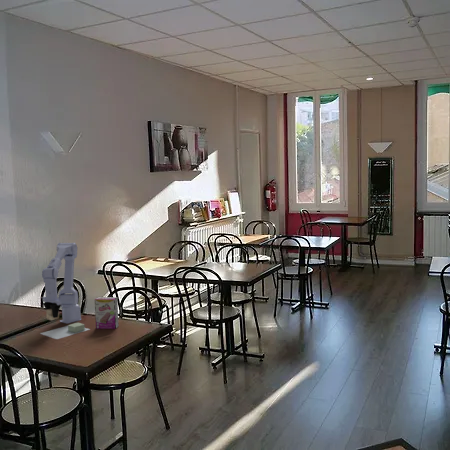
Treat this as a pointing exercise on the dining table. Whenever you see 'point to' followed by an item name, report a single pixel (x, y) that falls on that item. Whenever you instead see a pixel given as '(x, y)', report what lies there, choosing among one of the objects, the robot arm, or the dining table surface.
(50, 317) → the maple block
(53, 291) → the robot arm
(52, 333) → the mat
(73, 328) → the sage base block
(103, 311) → the candy bar box
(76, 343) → the dining table surface
